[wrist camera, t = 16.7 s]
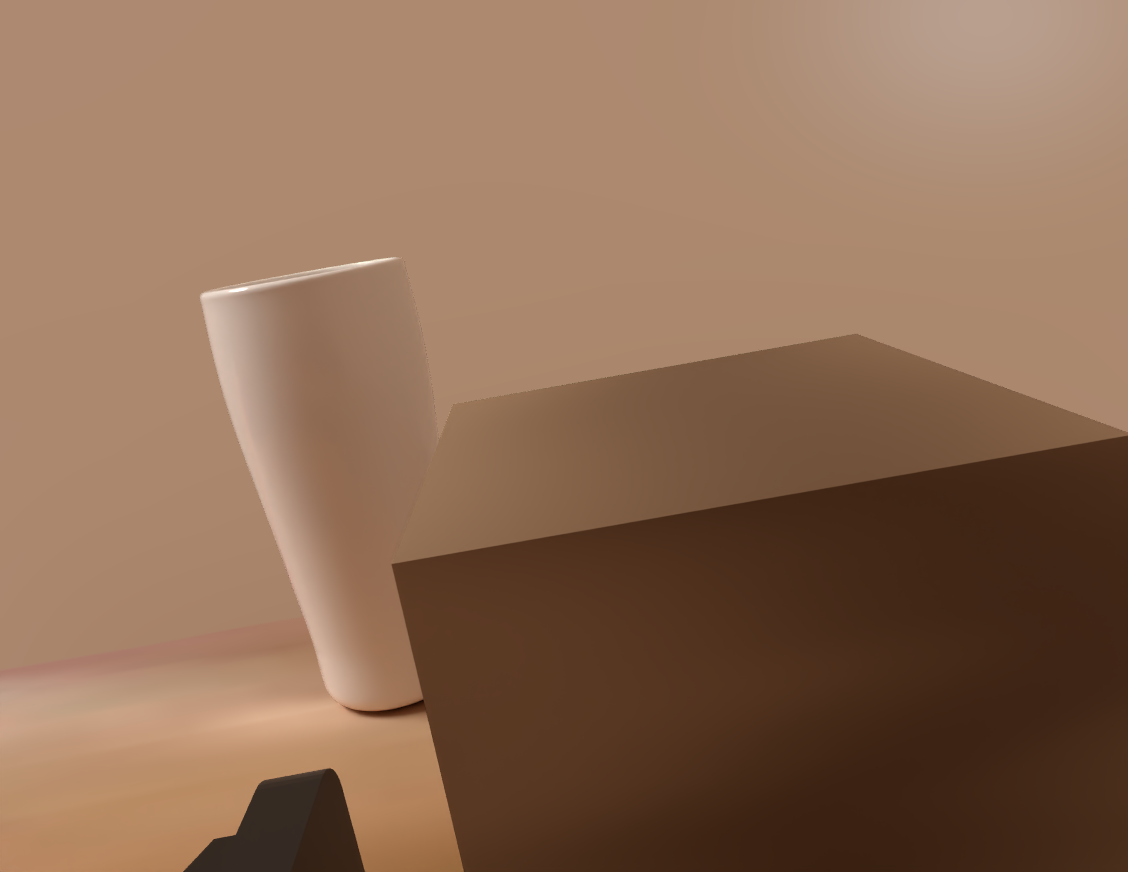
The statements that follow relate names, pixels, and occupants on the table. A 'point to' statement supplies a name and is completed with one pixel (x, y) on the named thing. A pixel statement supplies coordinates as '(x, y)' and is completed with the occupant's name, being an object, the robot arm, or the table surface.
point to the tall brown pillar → (776, 621)
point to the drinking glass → (334, 452)
